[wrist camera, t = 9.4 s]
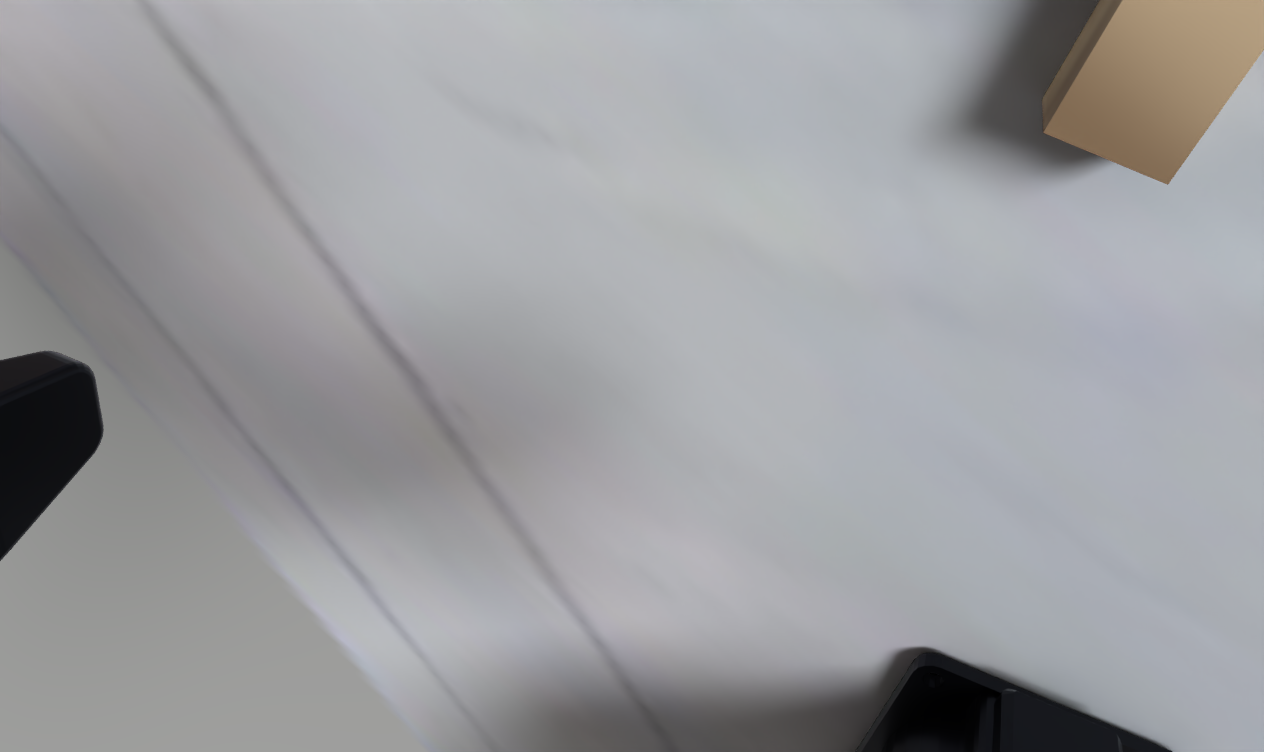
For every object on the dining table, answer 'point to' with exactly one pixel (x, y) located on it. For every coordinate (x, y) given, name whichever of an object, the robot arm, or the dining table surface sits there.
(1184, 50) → the tan bar
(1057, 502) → the dining table surface
